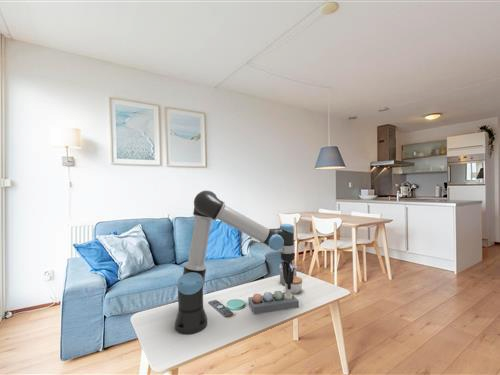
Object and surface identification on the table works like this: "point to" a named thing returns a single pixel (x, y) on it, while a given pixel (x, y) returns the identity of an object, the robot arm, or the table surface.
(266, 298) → the pale blue button
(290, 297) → the cream button
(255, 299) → the terracotta button
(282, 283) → the can
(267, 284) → the table surface
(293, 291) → the lidded jar
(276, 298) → the sage button
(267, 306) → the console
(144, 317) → the table surface
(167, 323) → the table surface
